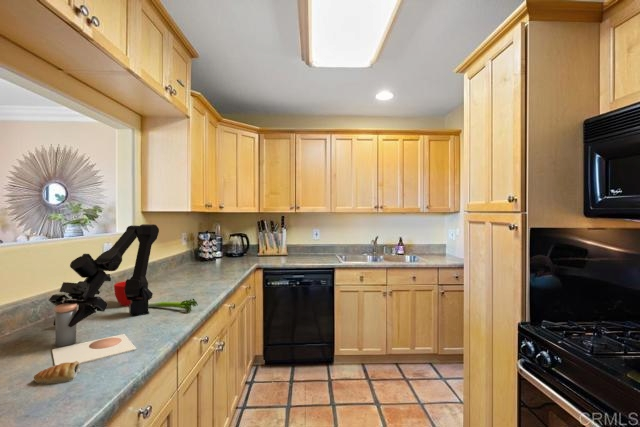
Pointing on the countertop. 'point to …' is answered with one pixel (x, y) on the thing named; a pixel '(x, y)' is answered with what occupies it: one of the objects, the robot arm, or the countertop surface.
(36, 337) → the countertop surface
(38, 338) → the countertop surface
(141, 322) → the countertop surface
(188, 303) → the celery
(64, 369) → the pastry
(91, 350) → the card
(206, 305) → the countertop surface
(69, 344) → the tube
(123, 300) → the ceramic cup
